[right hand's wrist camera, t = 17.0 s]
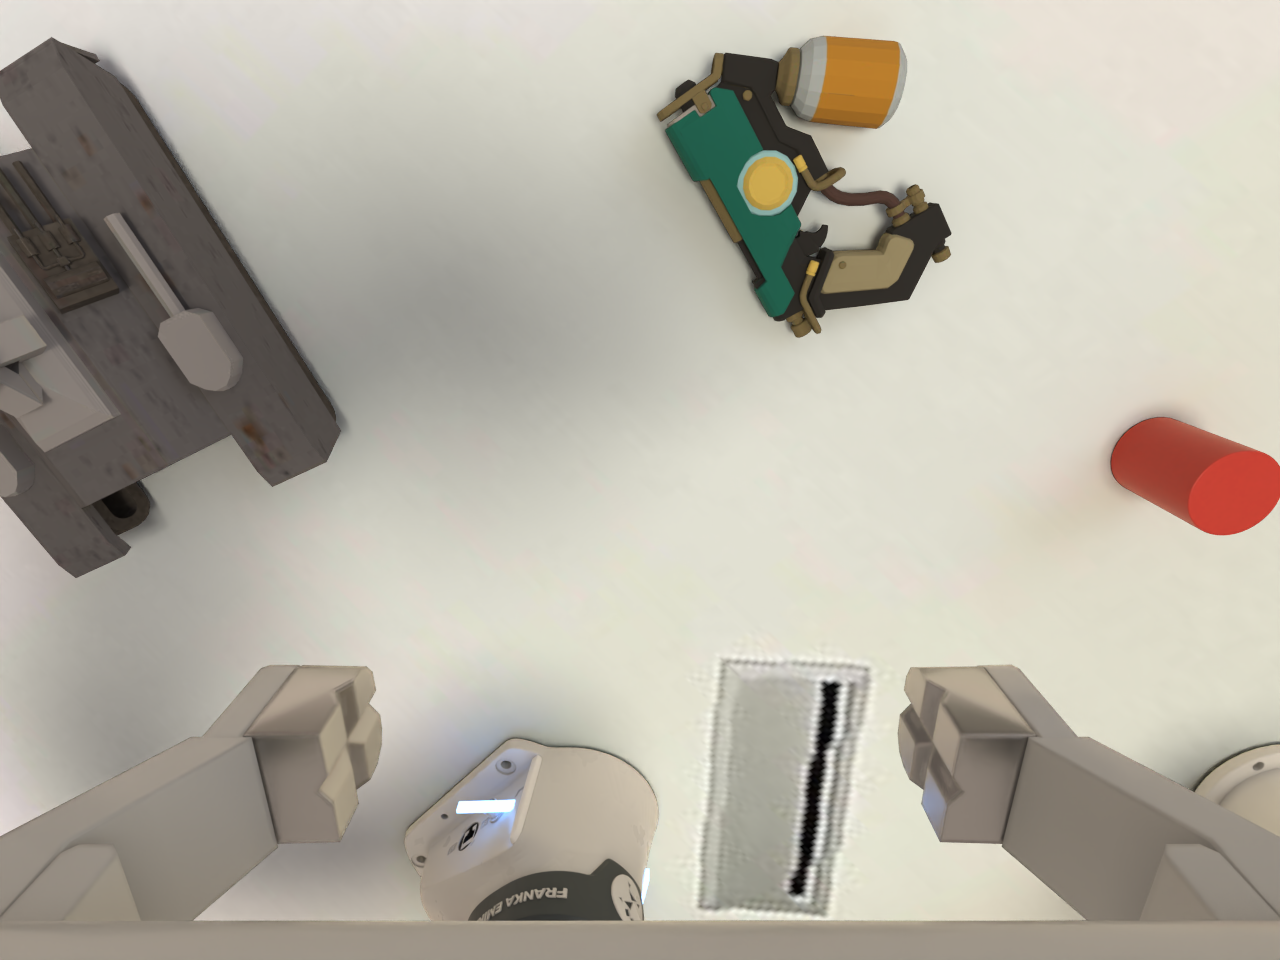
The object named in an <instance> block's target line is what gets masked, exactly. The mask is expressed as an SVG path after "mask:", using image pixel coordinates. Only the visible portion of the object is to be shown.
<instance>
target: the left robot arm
mask: <svg viewBox="0 0 1280 960" xmlns="http://www.w3.org/2000/svg"><path fill="white" fill-rule="evenodd" d="M1195 793H1197V794H1199V795H1201V796H1203V797H1205V798H1206V799H1208V800H1210V801H1212V802H1214V803H1216V804H1218V805H1220V806H1222V807H1224V808H1226V809H1228V810H1229V811H1231V812H1233V813H1235V814H1237V815H1239V816H1241V817H1243V818H1245V819H1247V820H1249V821H1251V822H1252V823H1254V824H1256V825H1258V826H1260V827H1262V828H1264V829H1266V830H1268V831H1270V832H1272V833H1274V834H1275V835H1277V836H1279V837H1280V744H1279V745H1270V746H1265V747H1260V748H1256V749H1253V750H1250V751H1247V752H1244V753H1242V754H1240V755H1238V756H1236V757H1233V758H1231V759H1229V760H1228V761H1226V762H1225V763H1223V764H1222V765H1220V766H1219V767H1217V768H1216V769H1215V770H1214V771H1212V772H1211V773H1210V774H1209V775H1208V776H1207V777H1206V778H1205V779H1204V780H1203V781H1202V782H1201V784H1200V785H1199V786H1198V787H1197V789H1196V790H1195Z"/></svg>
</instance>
